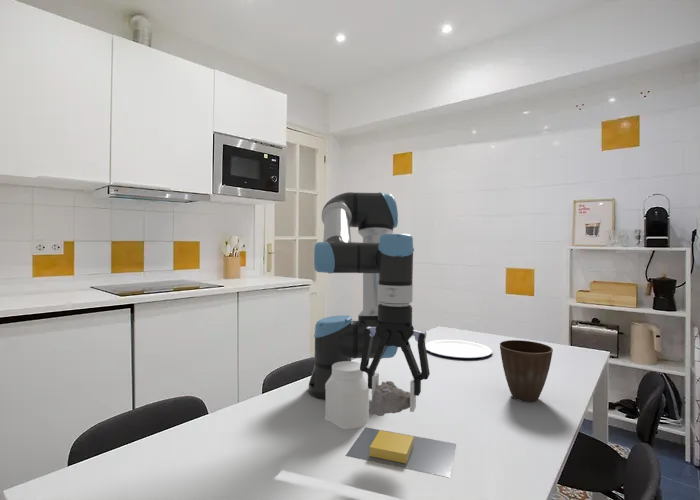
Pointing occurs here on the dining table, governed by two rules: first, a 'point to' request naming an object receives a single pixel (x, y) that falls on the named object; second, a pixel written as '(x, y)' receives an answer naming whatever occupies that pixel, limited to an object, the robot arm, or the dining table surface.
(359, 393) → the jar
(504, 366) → the plant pot
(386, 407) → the stone
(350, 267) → the robot arm
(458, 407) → the dining table surface
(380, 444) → the yellow block
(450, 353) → the plate
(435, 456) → the slate board
